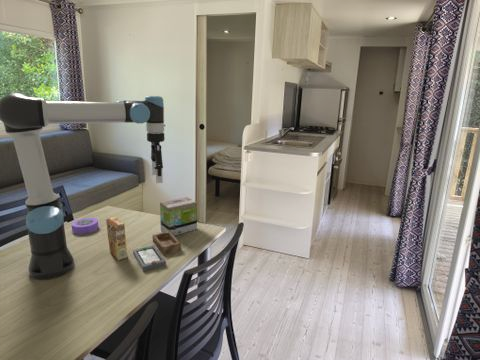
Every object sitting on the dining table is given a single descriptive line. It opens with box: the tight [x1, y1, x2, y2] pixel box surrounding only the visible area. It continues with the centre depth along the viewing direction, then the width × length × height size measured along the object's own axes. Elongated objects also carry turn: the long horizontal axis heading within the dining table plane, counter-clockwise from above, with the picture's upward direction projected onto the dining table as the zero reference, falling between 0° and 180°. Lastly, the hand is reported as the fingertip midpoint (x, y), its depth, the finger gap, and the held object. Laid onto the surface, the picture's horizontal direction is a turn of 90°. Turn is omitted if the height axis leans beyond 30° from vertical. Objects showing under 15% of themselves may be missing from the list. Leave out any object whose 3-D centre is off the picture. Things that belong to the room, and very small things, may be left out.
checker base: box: [132, 244, 167, 272], centre depth 135 cm, size 9×15×3 cm, turn 31°
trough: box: [152, 231, 182, 256], centre depth 146 cm, size 8×14×4 cm, turn 31°
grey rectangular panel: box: [138, 249, 160, 264], centre depth 135 cm, size 6×11×1 cm, turn 31°
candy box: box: [105, 216, 128, 261], centre depth 136 cm, size 9×4×15 cm, turn 44°
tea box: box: [159, 196, 198, 237], centre depth 161 cm, size 15×10×15 cm, turn 129°
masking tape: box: [70, 217, 99, 235], centre depth 161 cm, size 12×12×4 cm
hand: (157, 178), depth 152 cm, fingers open, 13 cm apart
